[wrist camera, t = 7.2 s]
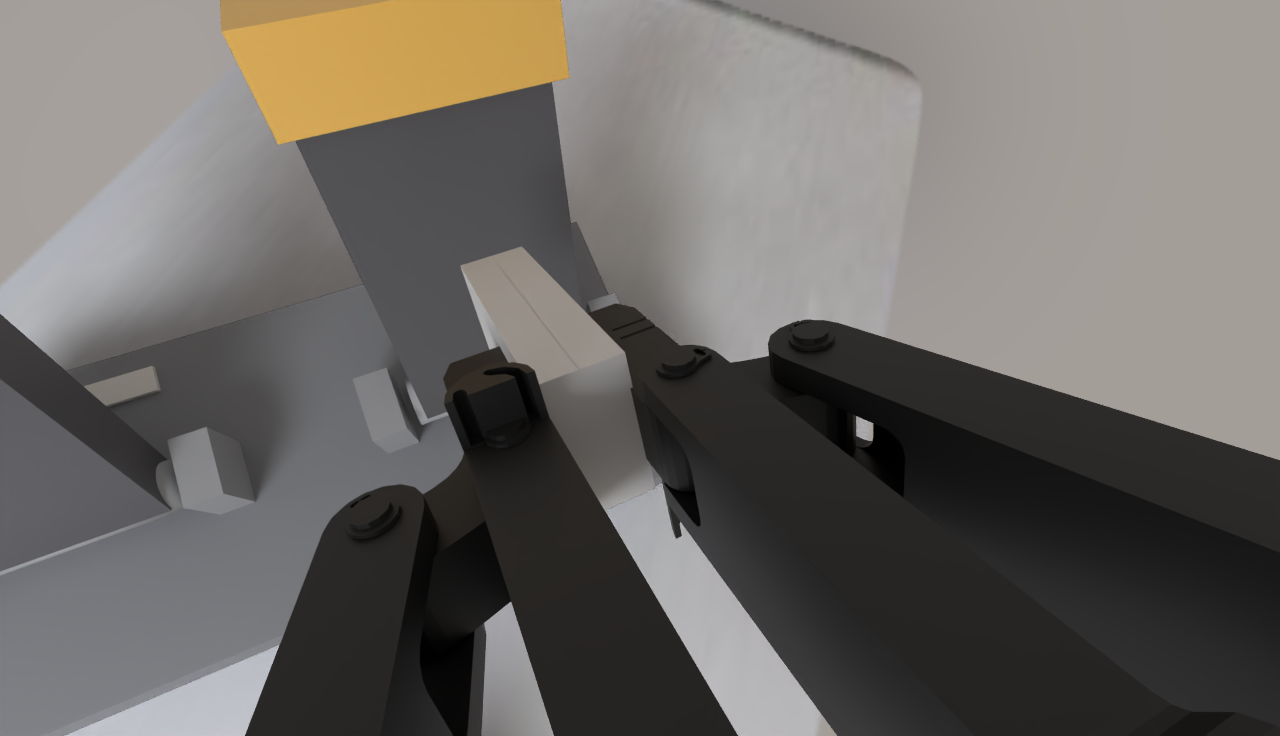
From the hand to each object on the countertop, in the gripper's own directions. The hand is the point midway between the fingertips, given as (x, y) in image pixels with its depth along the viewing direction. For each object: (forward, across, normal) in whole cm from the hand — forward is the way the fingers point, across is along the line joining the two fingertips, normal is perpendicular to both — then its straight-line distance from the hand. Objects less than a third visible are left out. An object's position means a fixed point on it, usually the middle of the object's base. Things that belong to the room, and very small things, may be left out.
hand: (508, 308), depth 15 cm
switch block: (+13, -8, -10) cm, 18 cm away
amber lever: (+8, 0, -6) cm, 10 cm away
